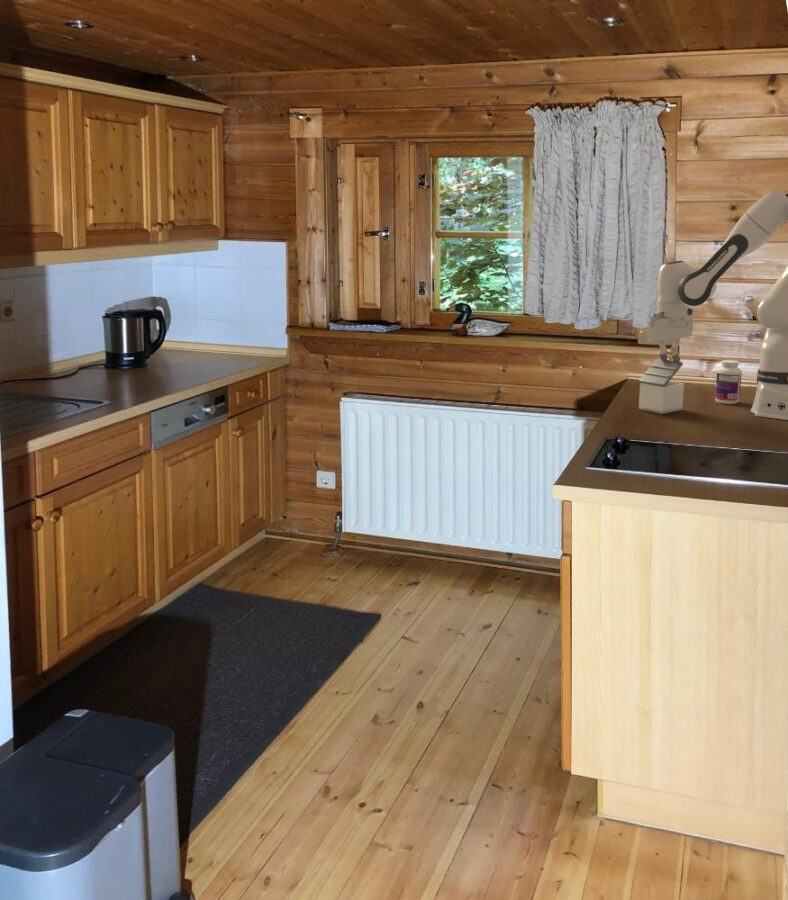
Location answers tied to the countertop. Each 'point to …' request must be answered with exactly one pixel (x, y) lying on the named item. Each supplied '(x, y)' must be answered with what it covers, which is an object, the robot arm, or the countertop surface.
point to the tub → (661, 397)
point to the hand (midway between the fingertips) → (668, 353)
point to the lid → (662, 369)
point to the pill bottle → (728, 383)
